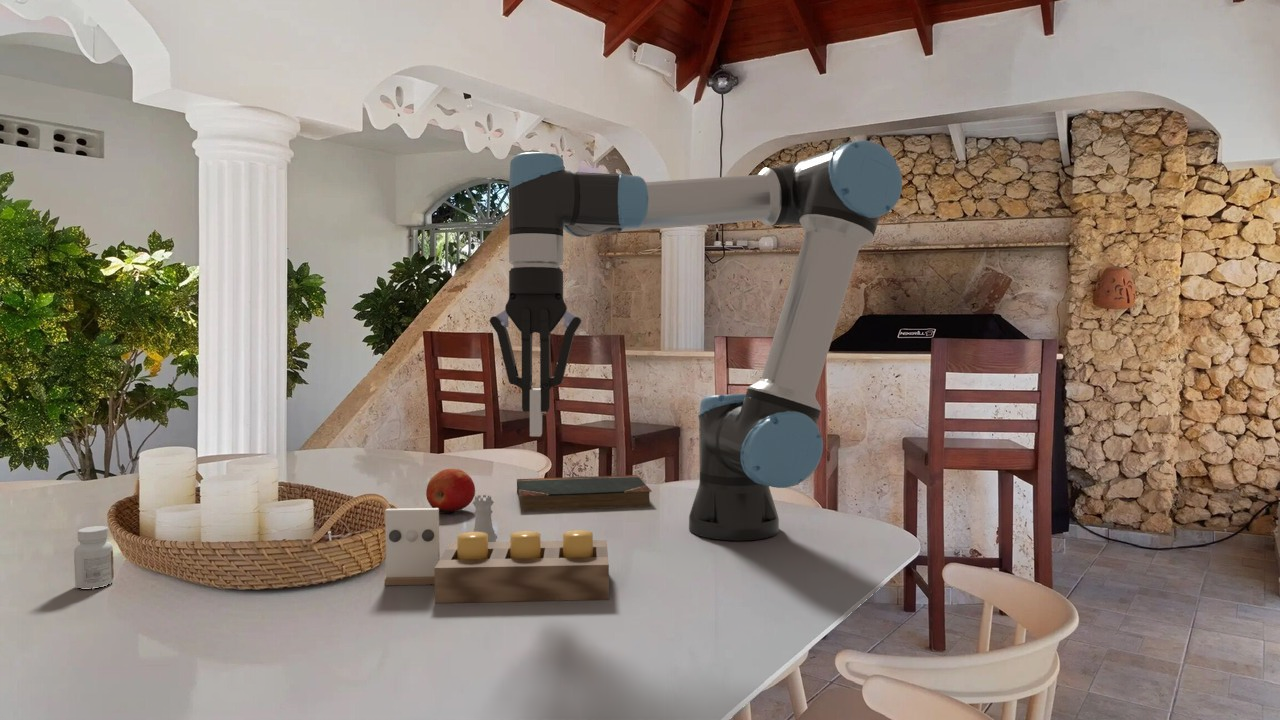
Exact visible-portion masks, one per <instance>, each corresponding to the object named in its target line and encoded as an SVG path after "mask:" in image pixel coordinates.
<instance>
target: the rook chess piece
mask: <svg viewBox="0 0 1280 720" xmlns="http://www.w3.org/2000/svg"><path fill="white" fill-rule="evenodd" d="M494 503H495V502H494V501H493V499H492V496H491V495H489V494H488V495H487V494H482V495H475V496H474V499H473V502H472V504H473V506H474V507H475V511H474V512H473V514H474V515H475V520H474V526H473V527H474V528H473V530H472V532H484V533H487V534H488V542H497V539H498V535H497V534H496V533H495V530H494V527H493V520H492V513H493V510H492V506H493V504H494Z"/></svg>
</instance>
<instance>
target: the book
mask: <svg viewBox="0 0 1280 720" xmlns="http://www.w3.org/2000/svg"><path fill="white" fill-rule="evenodd" d="M651 492H652V490H651V488H650V487H649V486H648V485H647V484H646V483H645V481H643V479H641V478H640V477H639V475H637V474H634V475H633V474H627V475H600V476H594V475H593V476H571V477H570V476H568V477H540V478H539V477H538V478H516V493H517V494H518V497H519V503H520V508H521V511H522V512H527V511H528V512H531V511H532V512H533V511H553V510H555V511H556V510H557V511H558V510H578V509H579V510H580V509H581V510H582V509H583V510H584V509H605V508H606V509H607V508H608V509H609V508H631V507H632V508H634V507H651V506H650V501H651V500H650V493H651Z"/></svg>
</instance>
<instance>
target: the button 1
mask: <svg viewBox="0 0 1280 720" xmlns="http://www.w3.org/2000/svg"><path fill="white" fill-rule="evenodd" d="M456 537H457V538H456V539H457V540H456V542H457V556H458V560H467V559H488V534H487V533H484V532H473V531H468V532H461V533H459V534H457V536H456Z"/></svg>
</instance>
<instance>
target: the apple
mask: <svg viewBox="0 0 1280 720" xmlns="http://www.w3.org/2000/svg"><path fill="white" fill-rule="evenodd" d="M425 491H426V493H425V496H426V500H427V502H428V504H429V506H431V508H439V513H443V514H449V513H454V512H457V511H460V510H463V509H465V508H466V507H468V506H469V505H470V503H473V502H472V501H474V499H475V496H476V487H475V483H474V480H473V479H472V477H471V476H470V475H469V474H468V472H465V471H464V470H461V469H460V468H445V469H441V470H440V471H439V472H436V473H435V474H434V475H433V476H432V477H431V478H430V479H429V481H428V483H427V485H426V490H425Z"/></svg>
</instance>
